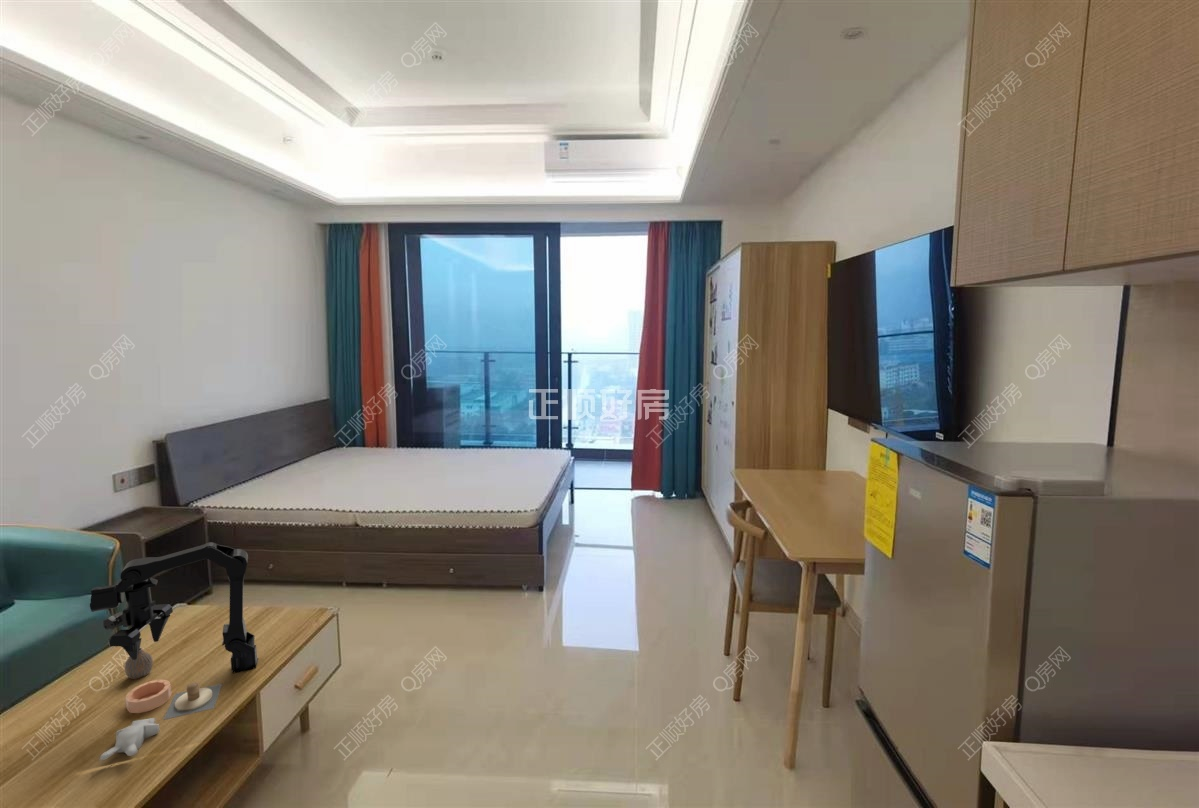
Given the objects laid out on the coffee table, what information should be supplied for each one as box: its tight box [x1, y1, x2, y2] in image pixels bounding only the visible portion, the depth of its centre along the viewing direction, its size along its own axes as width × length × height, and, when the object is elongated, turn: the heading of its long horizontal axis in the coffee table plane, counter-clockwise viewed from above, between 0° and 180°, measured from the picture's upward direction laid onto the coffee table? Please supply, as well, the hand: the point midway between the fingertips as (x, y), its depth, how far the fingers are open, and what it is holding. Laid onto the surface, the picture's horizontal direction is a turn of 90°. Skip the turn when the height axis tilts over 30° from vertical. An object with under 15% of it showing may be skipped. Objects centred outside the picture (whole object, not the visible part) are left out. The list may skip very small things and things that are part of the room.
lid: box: [175, 681, 213, 711], centre depth 163 cm, size 9×9×5 cm
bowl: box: [125, 679, 173, 714], centre depth 163 cm, size 10×10×4 cm
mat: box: [162, 683, 223, 721], centre depth 163 cm, size 12×12×1 cm
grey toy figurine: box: [98, 717, 160, 762], centre depth 146 cm, size 10×5×15 cm
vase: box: [124, 647, 154, 680], centre depth 175 cm, size 7×7×9 cm
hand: (145, 650), depth 166 cm, fingers open, 9 cm apart
